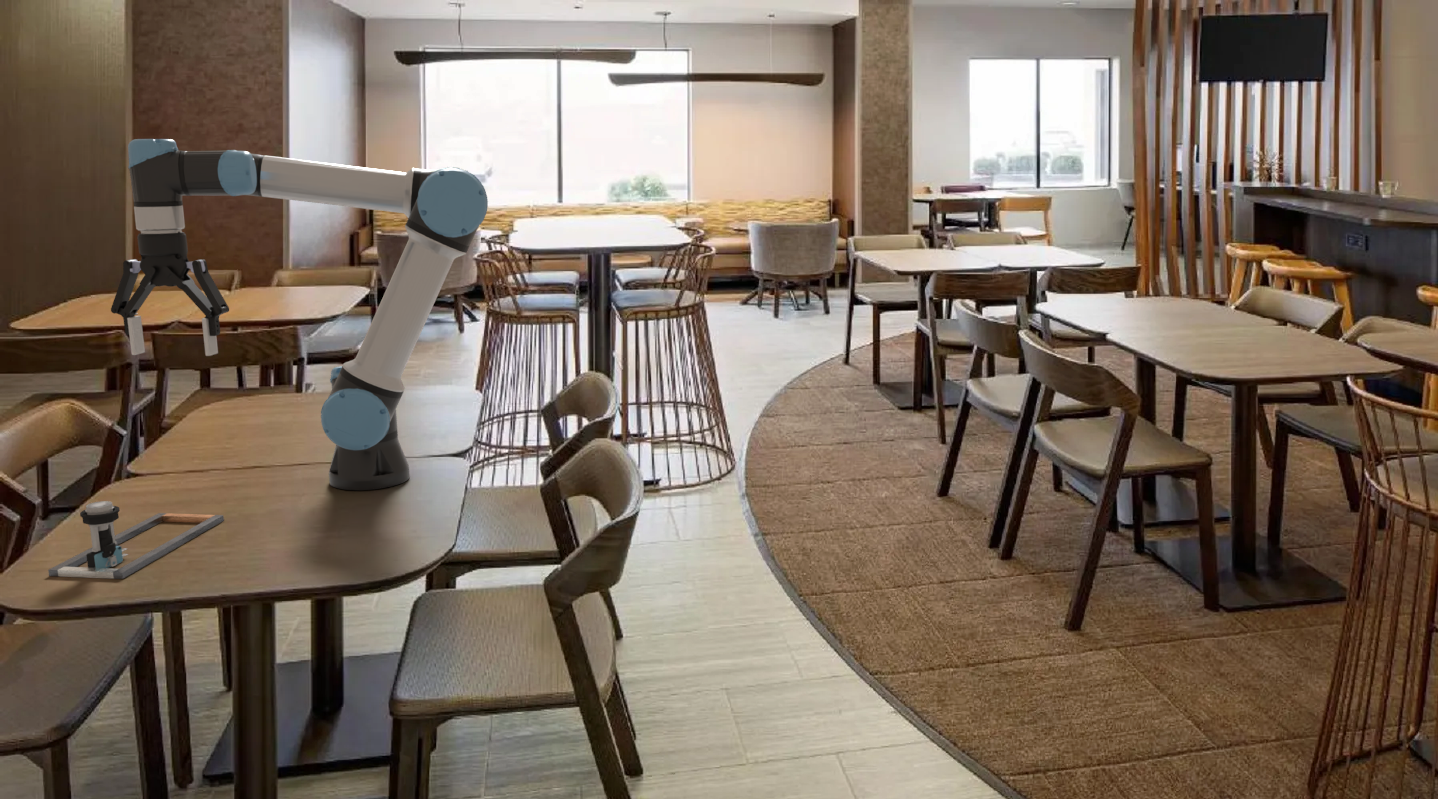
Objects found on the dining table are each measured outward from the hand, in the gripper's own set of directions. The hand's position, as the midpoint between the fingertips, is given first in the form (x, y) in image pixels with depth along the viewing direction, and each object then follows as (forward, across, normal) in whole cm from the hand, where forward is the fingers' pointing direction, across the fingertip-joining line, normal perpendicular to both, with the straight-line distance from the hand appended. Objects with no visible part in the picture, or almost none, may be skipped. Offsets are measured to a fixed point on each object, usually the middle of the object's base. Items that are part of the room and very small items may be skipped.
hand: (175, 354), depth 195 cm
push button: (+29, -3, +27) cm, 40 cm away
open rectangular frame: (+29, -3, +19) cm, 34 cm away
